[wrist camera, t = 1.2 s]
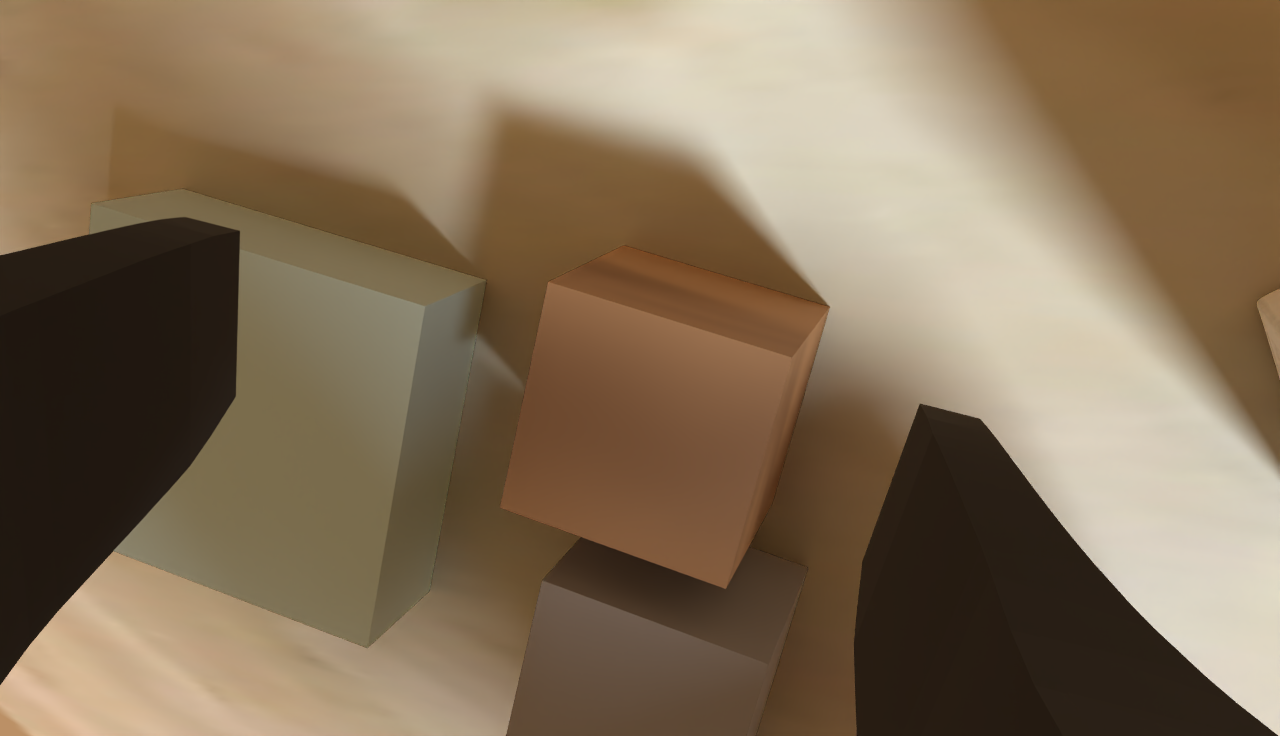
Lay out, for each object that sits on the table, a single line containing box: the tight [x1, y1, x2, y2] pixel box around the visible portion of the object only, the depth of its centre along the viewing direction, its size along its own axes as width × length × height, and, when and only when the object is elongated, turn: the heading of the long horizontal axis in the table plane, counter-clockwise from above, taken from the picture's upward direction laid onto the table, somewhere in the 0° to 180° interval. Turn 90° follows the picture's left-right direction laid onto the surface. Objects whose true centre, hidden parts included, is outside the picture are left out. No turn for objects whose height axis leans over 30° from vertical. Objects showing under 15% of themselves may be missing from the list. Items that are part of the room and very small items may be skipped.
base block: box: [89, 189, 487, 648], centre depth 24 cm, size 7×7×3 cm
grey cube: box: [506, 537, 808, 736], centre depth 22 cm, size 4×4×4 cm
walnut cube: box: [500, 246, 830, 589], centre depth 21 cm, size 4×4×4 cm
